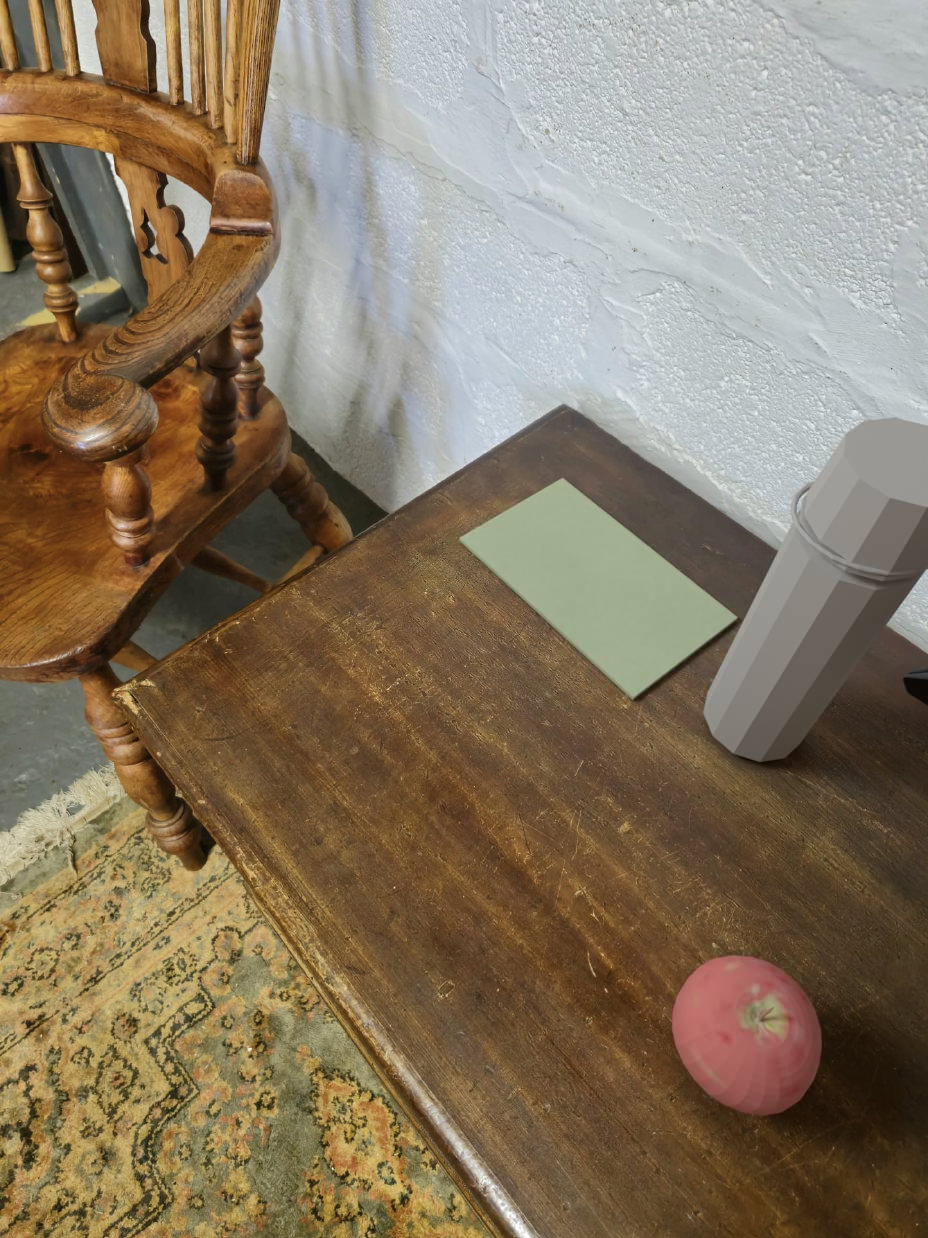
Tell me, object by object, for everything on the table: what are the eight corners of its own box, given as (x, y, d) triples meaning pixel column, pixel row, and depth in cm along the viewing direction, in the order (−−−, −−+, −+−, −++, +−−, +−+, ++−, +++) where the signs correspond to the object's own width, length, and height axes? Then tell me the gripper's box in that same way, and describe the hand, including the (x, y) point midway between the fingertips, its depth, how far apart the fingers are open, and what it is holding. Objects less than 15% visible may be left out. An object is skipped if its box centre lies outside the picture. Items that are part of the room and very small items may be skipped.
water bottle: (813, 773, 59) (1013, 521, 39) (700, 763, 59) (842, 507, 39) (791, 664, 64) (957, 396, 45) (688, 655, 65) (808, 384, 45)
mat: (736, 620, 67) (738, 617, 67) (632, 700, 62) (633, 697, 62) (562, 480, 76) (562, 477, 76) (459, 540, 71) (459, 537, 71)
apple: (687, 954, 51) (725, 909, 45) (805, 1024, 49) (863, 988, 43) (636, 1070, 47) (670, 1039, 41) (762, 1152, 45) (818, 1133, 39)
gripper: (1307, 444, 37) (954, 486, 51) (1116, 660, 29) (761, 641, 43) (1347, 662, 40) (1002, 647, 54) (1183, 912, 32) (829, 819, 46)
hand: (907, 681), depth 49 cm, fingers closed
